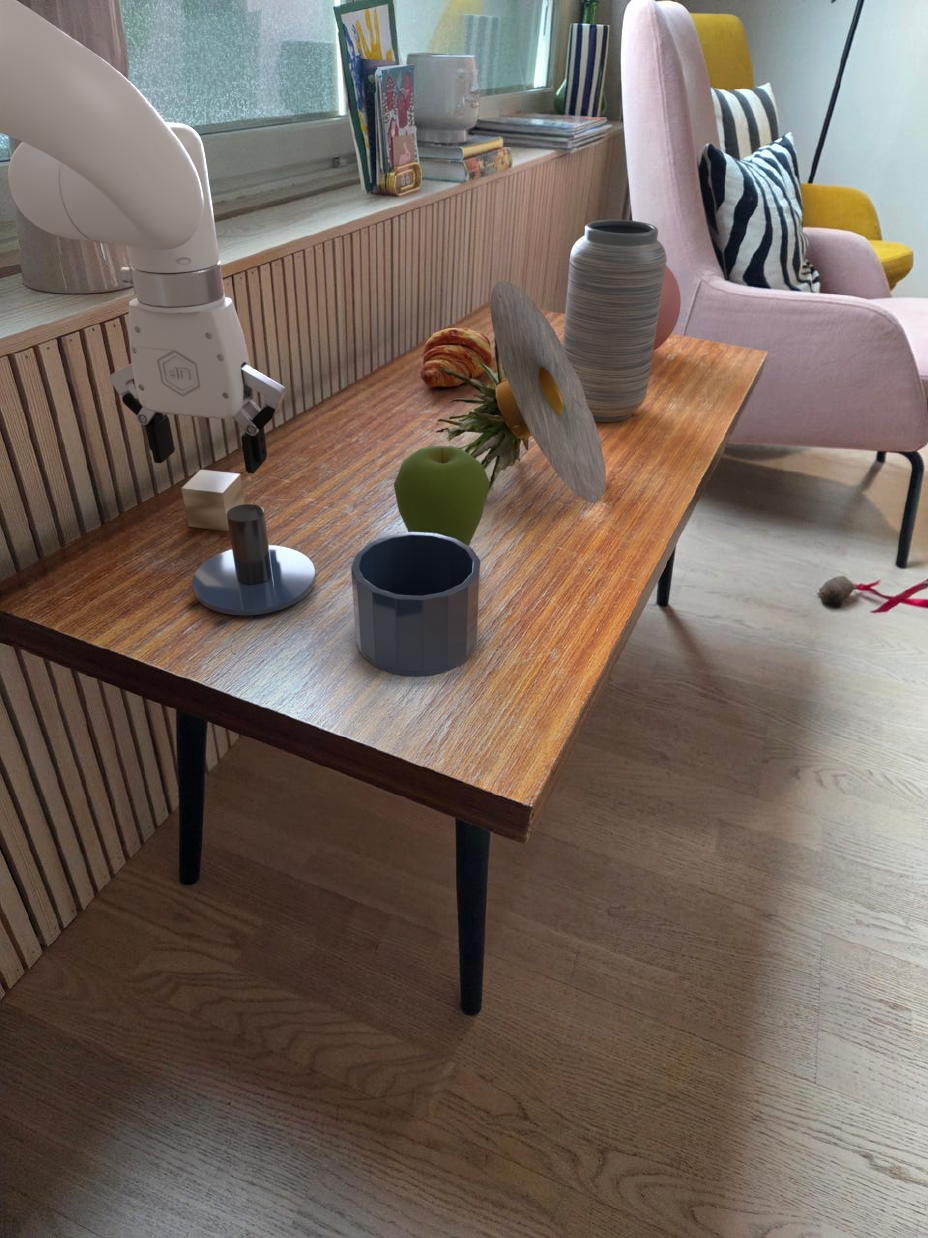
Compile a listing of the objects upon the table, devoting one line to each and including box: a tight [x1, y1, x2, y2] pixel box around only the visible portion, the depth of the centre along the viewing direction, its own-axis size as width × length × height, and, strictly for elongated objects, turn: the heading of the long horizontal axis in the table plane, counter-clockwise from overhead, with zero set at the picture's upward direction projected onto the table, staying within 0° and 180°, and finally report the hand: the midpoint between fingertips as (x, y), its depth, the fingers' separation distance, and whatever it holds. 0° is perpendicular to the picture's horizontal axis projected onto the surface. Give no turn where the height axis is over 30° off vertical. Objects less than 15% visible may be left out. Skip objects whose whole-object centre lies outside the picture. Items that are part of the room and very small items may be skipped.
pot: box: [350, 531, 481, 677], centre depth 71 cm, size 10×10×8 cm
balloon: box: [653, 264, 682, 352], centre depth 127 cm, size 15×20×15 cm
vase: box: [562, 219, 667, 423], centre depth 109 cm, size 12×12×23 cm
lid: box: [191, 503, 317, 616], centre depth 77 cm, size 11×11×8 cm
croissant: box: [420, 327, 493, 388], centre depth 125 cm, size 21×10×8 cm, turn 158°
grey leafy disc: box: [435, 280, 607, 503], centre depth 95 cm, size 25×18×25 cm
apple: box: [393, 445, 490, 547], centre depth 80 cm, size 9×8×12 cm
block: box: [180, 469, 245, 533], centre depth 88 cm, size 4×4×4 cm
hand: (210, 462), depth 85 cm, fingers open, 9 cm apart
